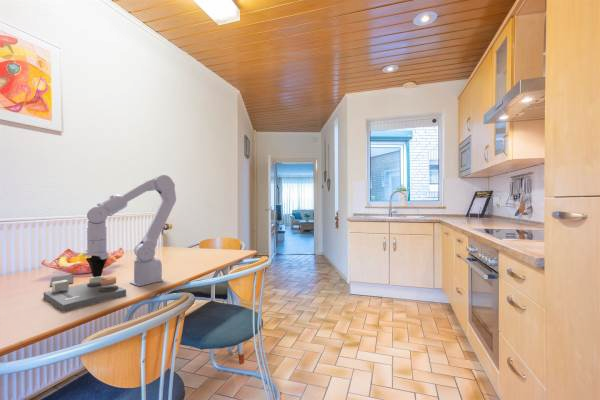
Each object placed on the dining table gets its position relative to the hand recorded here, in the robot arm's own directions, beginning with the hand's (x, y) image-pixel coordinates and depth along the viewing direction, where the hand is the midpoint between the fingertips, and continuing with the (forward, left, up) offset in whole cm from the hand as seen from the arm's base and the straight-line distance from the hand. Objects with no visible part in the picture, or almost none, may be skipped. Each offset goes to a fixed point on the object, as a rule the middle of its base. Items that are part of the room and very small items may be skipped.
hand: (97, 276), depth 100 cm
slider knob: (+10, -2, -3) cm, 11 cm away
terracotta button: (0, +10, -1) cm, 10 cm away
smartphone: (+4, -25, -6) cm, 26 cm away
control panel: (+5, +5, -5) cm, 9 cm away
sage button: (0, 0, -2) cm, 2 cm away
